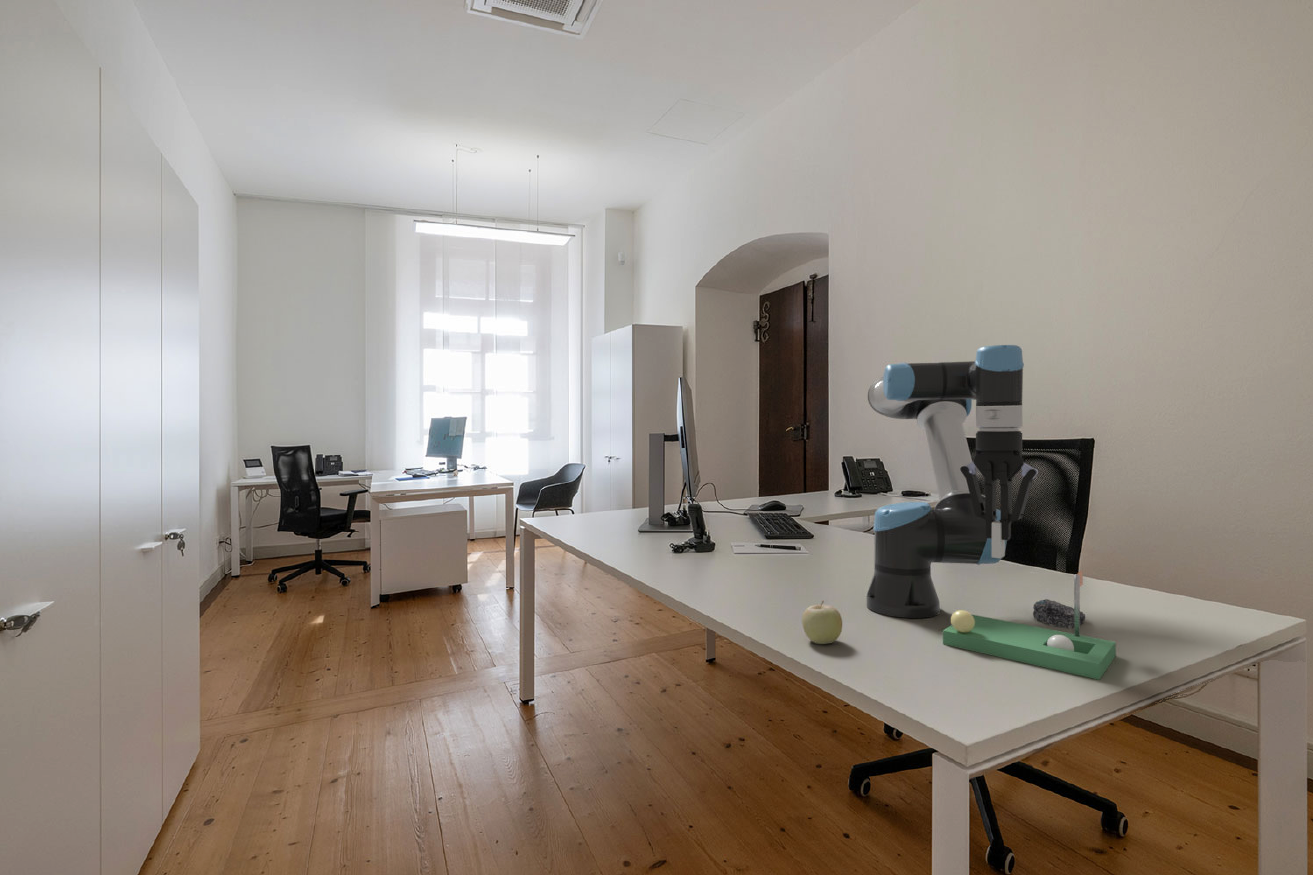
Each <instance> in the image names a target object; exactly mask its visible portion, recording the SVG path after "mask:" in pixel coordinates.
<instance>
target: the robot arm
mask: <svg viewBox="0 0 1313 875" xmlns="http://www.w3.org/2000/svg"><path fill="white" fill-rule="evenodd" d="M1023 360H1024V359H1023V350H1022V347H1020V346H1019V345H1018V344H1017V345H1016V344H998V345H996V344H995V345H987V346H986V345H985V346H981V347H979V348H978V349H977V351H976V355H975V361H973V360H972V361H947V362H946V361H944V362H943V361H942V362H941V361H940V362H914V363H913V362H912V363H911V362H910V363H909V362H908V363H907V362H900V363H892V364H887V366H886V367H885V368H884V372H883V377H879V378H878V379H876V380H875V381H874V382H872V383H871V385H869V386H870V387H869V389H868V391H867V401H868V404H869V406H870V407H871V409H872V410H873V411H875V412H876V413H878V414H879V415H882V416H884V417H887V418H890V419H891V418H892V419H895V420H896V419H897V420H916V423H917V425H918V427H919V428H920V429H921V430H922V431H925V435H926V439H927V444H928V448H929V450H928V451H929V453H930V458H931V464H932V468H933V469H932V470H933V474H934V479H935V483H936V488H937V493H938V498H939V500H938V501H937V502H936V504H935V505H934V508H932V507H931V505H930V503H929V502H926V501H925V502H923V501H918V502H917V501H915V502H914V501H908V502H907V501H906V502H899V503H891V504H887V505H883V506H881V507H878V508H877V509H876V510H875V513H874V520H873V528H872V529H873V532H874V537H873V538H874V539H873V540H874V542H873V544H874V546H873V548H874V552H873V553H874V556H873V557H874V561H873V562H874V573H873V575H872V579H871V582H870V585H869V586H868V591H867V594H866V607H867V608H868V609H870V610H871V611H873V612H875V613H878V614H881V615H884V616H888V617H889V616H890V617H896V618H903V619H904V618H906V619H924V618H925V619H926V618H931V617H935V616H937V615H939V614H940V610H941V608H940V607H941V606H940V605H941V604H940V599H939V597H938V596H939V595H938V593H937V590H936V588H935V585H934V581H933V578H932V573H931V569H932V568H931V565H932V563H937V564H938V563H939V564H940V563H941V564H942V563H943V564H967V565H968V564H971V565H978V566H979V565H987V564H988V565H989V564H991V565H992V564H997V563H999V562H1000V561H1001V559H1003V558H1004V557H1005V555H1006V547H1007V541H1009V540H1010V539H1011V537H1012V533H1011V532H1012V528H1011V527H1012V522H1016V521H1019V520H1021V519H1022V518H1023V516H1024V513H1025V511H1026V510H1025V509H1026V506H1027V503H1028V499H1029V495H1030V492H1031V488H1032V486H1033V485H1032V484H1033V482H1034V480H1035V479H1036V477H1037V476H1038V475H1039V474H1040V470H1039V469H1038V468H1034V467H1032V466H1030V465H1029V464H1027V463H1026V459H1025V457H1024V454H1023V432H1022V431H1020V429H1021V428H1022V427H1023V389H1024V388H1023V386H1024V385H1023V379H1024V377H1023V376H1024V372H1023V371H1024V367H1025V366H1024V365H1025V364H1024V361H1023ZM972 400H973V401H974V400H975V402H976V403H975V427H976V428H978V429H979V430H978V431H976V433H975V455H974V457H973V459H972V455H971V451H970V448H969V444H968V440H967V436H966V433H965V429H964V425H963V424H964V423H965V421H966V419H967V417H968V416H970V413H971V410H972V403H973V402H972ZM977 470H978V471H979V473H980V474H981V476H983V477H984V486H985V488H984V490H985V492H984V494H985V495H984V494H982V493H981V488H980V484H979V480H978V476H977V475H976V474H977V473H978V472H977ZM1020 471H1021V476H1022V479H1021V481H1020V486H1019V489H1018V492H1017V496H1016V499H1015V502H1014V506H1013V508H1012V505H1013V504H1012V502H1013V498H1012V497H1013V493H1012V492H1013V489H1012V487H1013V482H1014V481H1013V480H1014V478H1015V477H1016V475H1017V474H1018V473H1019V472H1020ZM998 481H999V487H1000V509H998V508H997V484H998ZM1012 510H1013V511H1012Z"/></svg>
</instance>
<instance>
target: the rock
mask: <svg viewBox="0 0 1313 875" xmlns="http://www.w3.org/2000/svg"><path fill="white" fill-rule="evenodd" d="M1032 609H1033V612H1032V616H1033V618H1034V619H1035V620H1036V621H1037V622H1041V623H1043V624H1048V625H1050V626H1054V627H1058V628H1064V629H1074V607H1072V606H1068V605H1065V604H1063V603H1061V602H1059V601H1055V600H1050V599H1048V598H1044V599H1040V600H1039V601H1036V602H1034V604H1033V608H1032ZM1085 620H1086V614H1085V613H1084V612H1082V611H1080V625H1082V624H1083V623H1084V621H1085Z"/></svg>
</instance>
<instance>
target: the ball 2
mask: <svg viewBox="0 0 1313 875" xmlns="http://www.w3.org/2000/svg"><path fill="white" fill-rule="evenodd" d="M1047 646H1050V647H1055V648H1060V649H1064V650H1069V651H1074V645H1073V643H1072V641H1071V640H1070V639H1069V638H1067V637H1065V636H1063V635H1054V636H1051V637H1050V638H1049V639H1048V641H1047Z"/></svg>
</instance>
